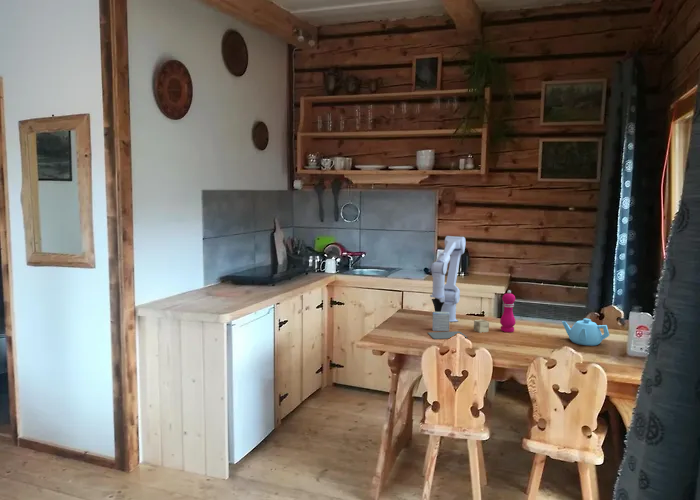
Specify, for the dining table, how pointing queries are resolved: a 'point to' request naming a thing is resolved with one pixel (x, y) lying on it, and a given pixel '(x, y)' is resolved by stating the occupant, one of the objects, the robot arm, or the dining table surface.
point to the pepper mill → (508, 313)
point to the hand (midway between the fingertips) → (437, 313)
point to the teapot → (586, 332)
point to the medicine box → (440, 321)
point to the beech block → (481, 326)
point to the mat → (443, 334)
